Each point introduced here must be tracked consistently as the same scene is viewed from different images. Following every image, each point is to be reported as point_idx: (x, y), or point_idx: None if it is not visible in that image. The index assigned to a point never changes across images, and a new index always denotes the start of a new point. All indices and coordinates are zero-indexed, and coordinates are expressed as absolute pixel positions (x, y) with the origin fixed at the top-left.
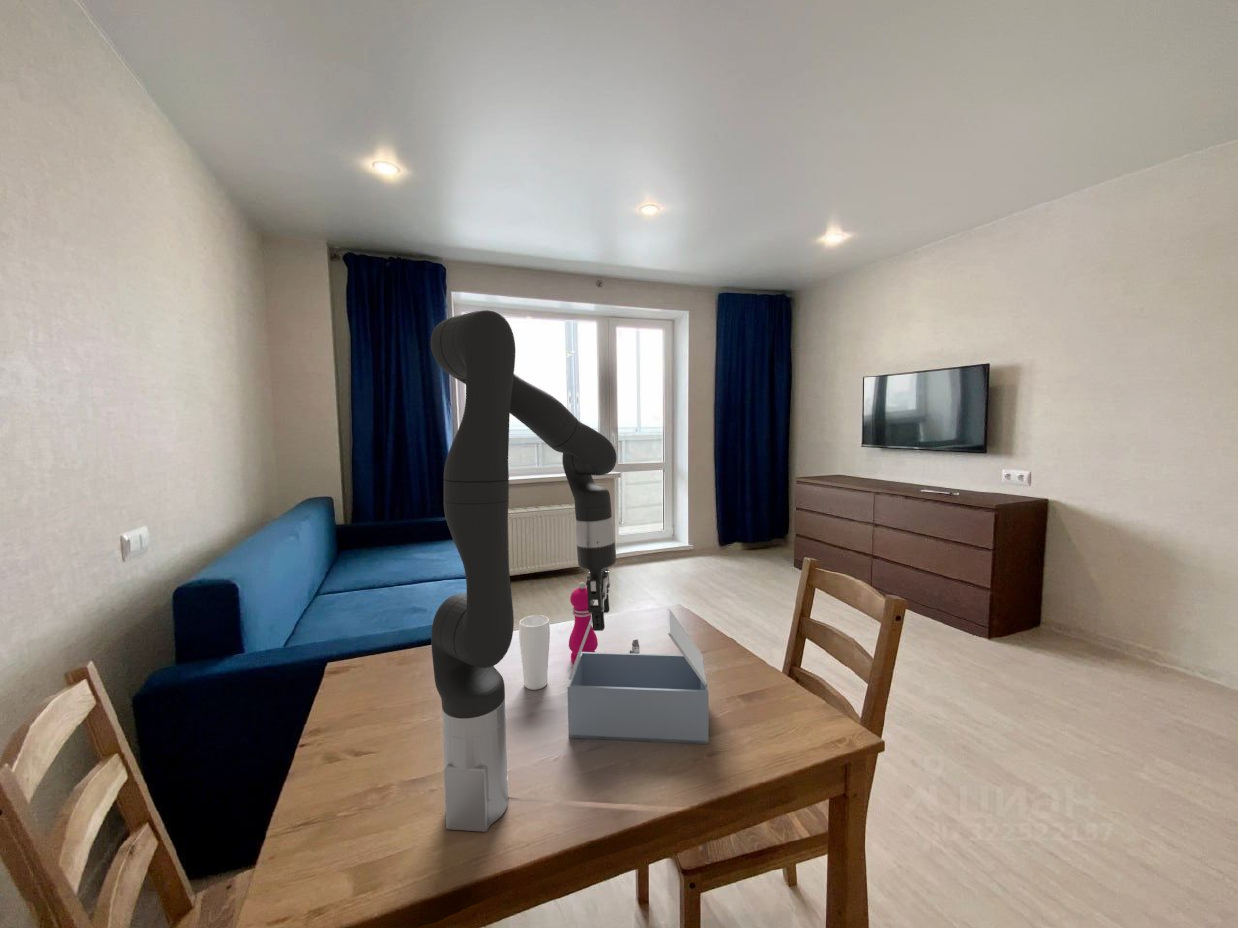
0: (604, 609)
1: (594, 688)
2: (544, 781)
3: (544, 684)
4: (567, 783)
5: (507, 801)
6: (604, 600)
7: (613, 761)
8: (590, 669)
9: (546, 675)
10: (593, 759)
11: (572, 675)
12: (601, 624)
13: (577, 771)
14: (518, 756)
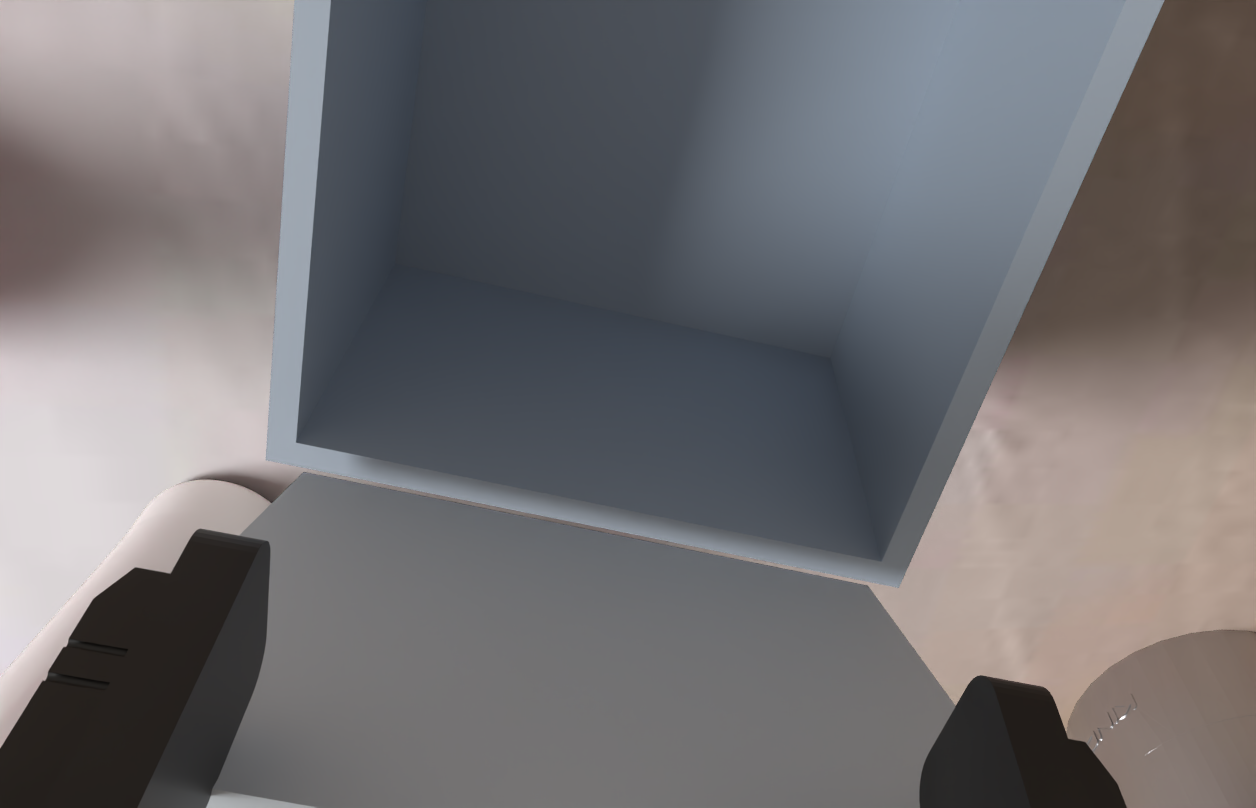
0: (251, 632)
1: (984, 391)
2: (1166, 493)
3: (260, 504)
4: (1232, 391)
5: (1252, 640)
6: (183, 779)
7: (1160, 120)
8: (348, 298)
9: (217, 523)
10: (1093, 242)
11: (880, 603)
12: (1103, 803)
13: (1160, 337)
14: (928, 603)
